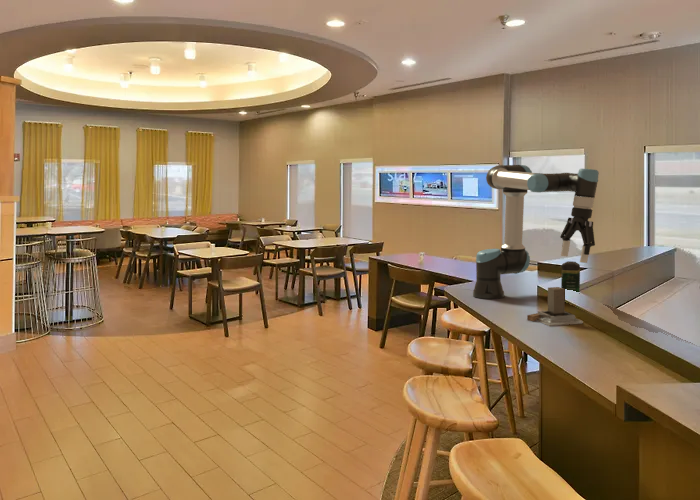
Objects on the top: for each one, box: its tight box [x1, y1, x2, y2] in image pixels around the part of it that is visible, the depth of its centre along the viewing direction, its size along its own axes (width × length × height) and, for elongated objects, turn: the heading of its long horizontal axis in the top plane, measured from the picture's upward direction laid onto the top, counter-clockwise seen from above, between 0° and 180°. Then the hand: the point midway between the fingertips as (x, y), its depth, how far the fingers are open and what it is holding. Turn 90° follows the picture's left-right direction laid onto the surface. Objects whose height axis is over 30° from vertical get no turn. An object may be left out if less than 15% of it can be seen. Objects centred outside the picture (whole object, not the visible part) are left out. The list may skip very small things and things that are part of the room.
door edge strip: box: [526, 312, 540, 322], centre depth 207 cm, size 2×16×2 cm, turn 120°
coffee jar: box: [560, 260, 581, 292], centre depth 236 cm, size 10×8×19 cm
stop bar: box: [547, 286, 566, 316], centre depth 201 cm, size 4×4×12 cm
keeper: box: [536, 310, 584, 327], centre depth 201 cm, size 14×14×3 cm
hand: (573, 259), depth 208 cm, fingers open, 13 cm apart
